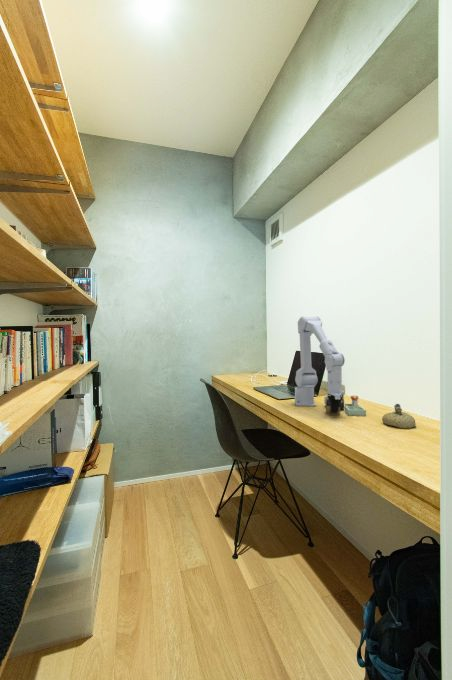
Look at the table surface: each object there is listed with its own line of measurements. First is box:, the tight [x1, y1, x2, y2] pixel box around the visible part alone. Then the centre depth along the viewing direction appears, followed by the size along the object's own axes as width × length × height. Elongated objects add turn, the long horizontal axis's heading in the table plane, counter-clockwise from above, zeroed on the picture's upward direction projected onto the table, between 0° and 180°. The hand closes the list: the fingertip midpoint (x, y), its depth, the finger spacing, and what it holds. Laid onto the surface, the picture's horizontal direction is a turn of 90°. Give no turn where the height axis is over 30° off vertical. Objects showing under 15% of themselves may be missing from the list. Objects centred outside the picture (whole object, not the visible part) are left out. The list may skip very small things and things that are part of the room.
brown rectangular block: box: [325, 405, 341, 416], centre depth 137 cm, size 5×4×3 cm
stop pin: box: [350, 395, 359, 410], centre depth 137 cm, size 3×3×7 cm
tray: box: [344, 405, 367, 417], centre depth 137 cm, size 7×7×2 cm
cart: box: [323, 393, 345, 411], centre depth 147 cm, size 8×10×7 cm
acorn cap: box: [381, 403, 416, 429], centre depth 120 cm, size 10×11×10 cm
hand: (334, 412), depth 134 cm, fingers closed
